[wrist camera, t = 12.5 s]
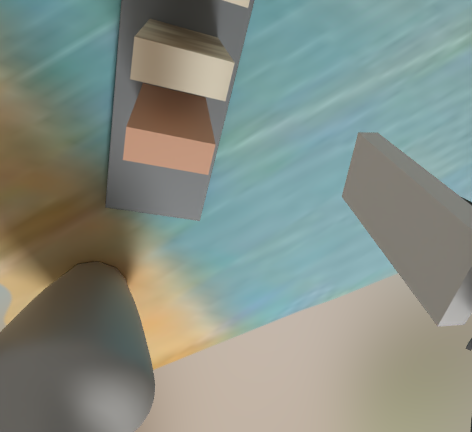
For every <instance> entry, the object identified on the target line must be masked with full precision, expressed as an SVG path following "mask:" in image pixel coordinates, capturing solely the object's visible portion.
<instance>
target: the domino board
mask: <svg viewBox="0 0 472 432" xmlns="http://www.w3.org/2000/svg"><path fill="white" fill-rule="evenodd" d="M253 4H254V0H250V2H249V6H248V8H246V7H243V6H240V5H236V4H233V3H230V2H227V1H223V0H122V1H121V14H120V27H119V40H118V53H117V65H116V78H115V91H114V104H113V117H112V130H111V142H110V155H109V168H108V181H107V194H106V207H107V208H114V209H121V210H128V211H135V212H142V213H149V214H156V215H163V216H170V217H177V218H184V219H190V220H197V221H200V218H201V213H202V209H203V205H204V201H205V197H206V193H207V189H208V185H209V181H210V177H211V173H212V169H213V165H214V161H215V157H216V153H217V149H218V145H219V141H220V137H221V133H222V129H223V125H224V121H225V117H226V113H227V109H228V105H229V101H230V97H231V93H232V89H233V84H234V80H235V76H236V72H237V68H238V64H239V60H240V56H241V52H242V48H243V44H244V40H245V36H246V32H247V28H248V24H249V20H250V16H251V12H252V8H253ZM149 19H153V20H157V21H161V22H164V23H168V24H171V25H175V26H178V27H182V28H186V29H189V30H193V31H196V32H200V33H204V34H207V35H211V36H214V37H218V38H219V40H220V41H221V43H222V44H223V46H224V47H225V49H226V50H227V52H228V53H229V55H230V56H231V58H232V59H233V61H234V62H235V64H234V68H233V72H232V76H231V80H230V85H229V89H228V93H227V97H226V101H222V100H217V99H213V98H209V97H205V98H206V101H207V106H208V111H209V116H210V120H211V125H212V130H213V135H214V139H215V144H216V145H215V149H214V153H213V157H212V162H211V166H210V170H209V174H208V175H205V174H199V173H194V172H188V171H183V170H177V169H171V168H166V167H160V166H154V165H149V164H143V163H137V162H132V161H126V160H123V154H124V144H125V134H126V126H127V123H128V121H129V118H130V116H131V113H132V110H133V108H134V105H135V102H136V100H137V97H138V95H139V92H140V89H141V87H142V84H143V83H144V82H140V81H136V80H132V79H130V76H131V66H132V56H133V46H134V36H135V35H136V34H137V33H138V32H139V31H140V29H141V28H142V27H143V26H144V25H145V24H146V22H147V21H148V20H149ZM145 84H149V83H145ZM149 85H153V84H149ZM153 86H157V85H153ZM158 87H162V86H158ZM162 88H166V87H162ZM166 89H170V88H166ZM171 90H174V89H171ZM175 91H179V90H175ZM179 92H183V91H179ZM184 93H187V92H184ZM188 94H192V93H188ZM192 95H196V94H192ZM196 96H200V95H196ZM201 97H204V96H201Z"/></svg>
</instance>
